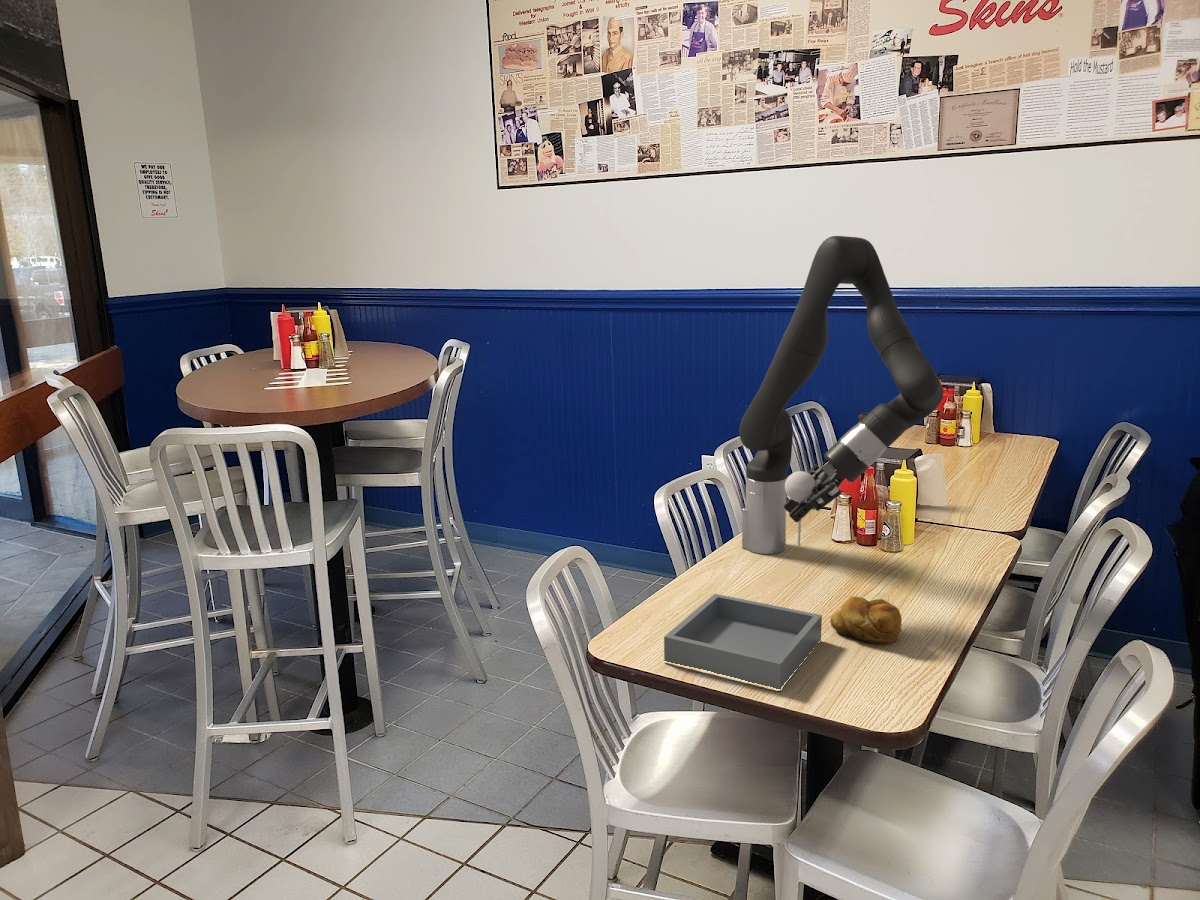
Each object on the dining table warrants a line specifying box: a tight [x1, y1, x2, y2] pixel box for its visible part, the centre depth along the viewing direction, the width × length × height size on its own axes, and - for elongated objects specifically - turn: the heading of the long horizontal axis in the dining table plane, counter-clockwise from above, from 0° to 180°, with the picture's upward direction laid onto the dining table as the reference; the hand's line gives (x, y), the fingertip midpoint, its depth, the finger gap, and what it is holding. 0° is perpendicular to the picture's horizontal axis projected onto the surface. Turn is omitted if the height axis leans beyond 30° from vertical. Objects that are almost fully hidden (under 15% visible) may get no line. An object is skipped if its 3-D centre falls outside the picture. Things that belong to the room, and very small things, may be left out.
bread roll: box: [830, 596, 903, 645], centre depth 163 cm, size 13×10×8 cm
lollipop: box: [785, 470, 816, 548], centre depth 171 cm, size 6×6×15 cm
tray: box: [663, 593, 823, 689], centre depth 158 cm, size 21×21×5 cm
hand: (790, 514), depth 171 cm, fingers closed on lollipop, 4 cm apart
